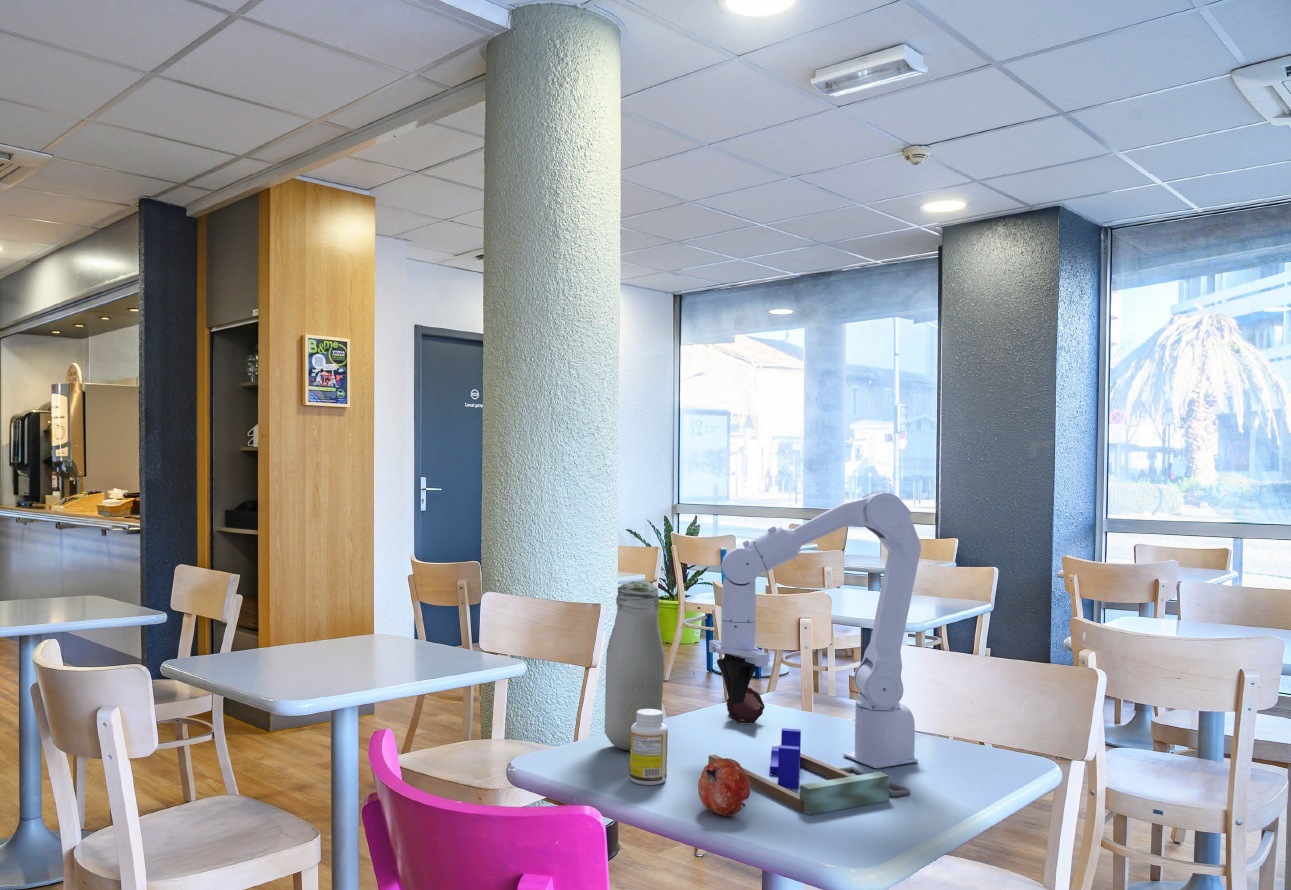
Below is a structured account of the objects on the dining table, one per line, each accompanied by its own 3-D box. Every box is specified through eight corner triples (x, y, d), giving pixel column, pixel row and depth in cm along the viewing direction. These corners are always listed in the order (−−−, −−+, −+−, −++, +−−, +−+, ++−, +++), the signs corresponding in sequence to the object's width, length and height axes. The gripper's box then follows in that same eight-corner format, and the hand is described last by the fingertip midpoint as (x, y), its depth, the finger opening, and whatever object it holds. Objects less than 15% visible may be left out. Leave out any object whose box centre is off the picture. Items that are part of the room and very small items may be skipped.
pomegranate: (717, 816, 129) (672, 781, 125) (746, 772, 131) (703, 736, 127) (747, 840, 123) (701, 804, 119) (778, 793, 125) (734, 756, 121)
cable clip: (771, 764, 148) (772, 727, 148) (800, 767, 147) (800, 729, 147) (767, 787, 136) (768, 746, 136) (798, 790, 135) (799, 749, 136)
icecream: (779, 697, 168) (755, 687, 183) (742, 687, 167) (720, 677, 182) (770, 735, 167) (746, 722, 181) (732, 725, 166) (711, 712, 180)
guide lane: (781, 754, 153) (782, 733, 153) (889, 800, 131) (889, 775, 132) (708, 764, 146) (708, 742, 146) (808, 815, 124) (809, 788, 124)
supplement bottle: (645, 772, 141) (647, 705, 142) (674, 780, 138) (675, 711, 138) (621, 780, 137) (623, 711, 138) (650, 789, 133) (652, 717, 134)
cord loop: (852, 770, 145) (852, 765, 145) (911, 794, 134) (911, 789, 134) (834, 772, 144) (834, 768, 144) (892, 797, 133) (892, 792, 133)
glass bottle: (610, 758, 148) (615, 584, 150) (598, 741, 158) (603, 578, 160) (669, 755, 150) (673, 584, 152) (653, 739, 160) (658, 578, 162)
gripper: (695, 615, 158) (692, 695, 157) (743, 627, 145) (741, 714, 144) (729, 614, 161) (727, 692, 161) (779, 625, 149) (777, 710, 148)
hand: (736, 702), depth 153 cm, fingers closed
